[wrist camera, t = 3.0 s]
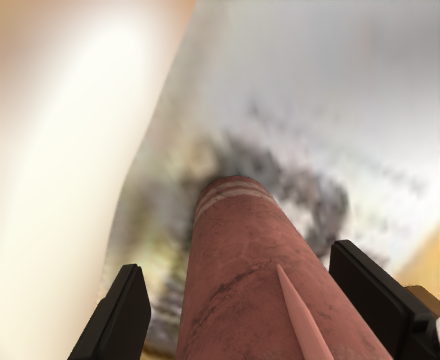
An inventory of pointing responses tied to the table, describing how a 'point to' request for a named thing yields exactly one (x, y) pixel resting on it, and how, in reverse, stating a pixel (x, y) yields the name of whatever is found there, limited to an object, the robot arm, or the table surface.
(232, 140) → the table surface
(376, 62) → the table surface
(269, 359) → the can
